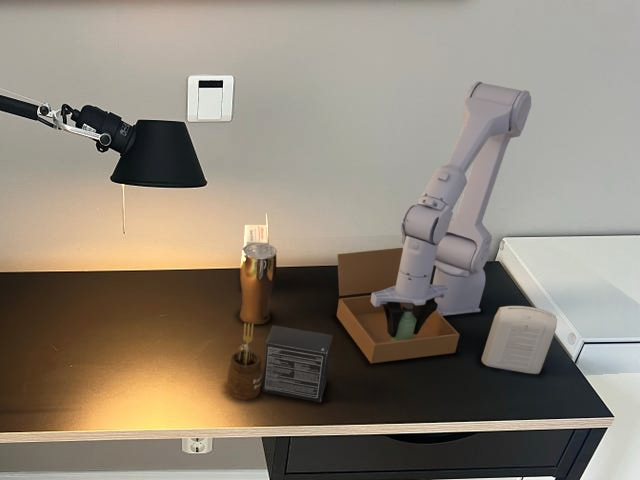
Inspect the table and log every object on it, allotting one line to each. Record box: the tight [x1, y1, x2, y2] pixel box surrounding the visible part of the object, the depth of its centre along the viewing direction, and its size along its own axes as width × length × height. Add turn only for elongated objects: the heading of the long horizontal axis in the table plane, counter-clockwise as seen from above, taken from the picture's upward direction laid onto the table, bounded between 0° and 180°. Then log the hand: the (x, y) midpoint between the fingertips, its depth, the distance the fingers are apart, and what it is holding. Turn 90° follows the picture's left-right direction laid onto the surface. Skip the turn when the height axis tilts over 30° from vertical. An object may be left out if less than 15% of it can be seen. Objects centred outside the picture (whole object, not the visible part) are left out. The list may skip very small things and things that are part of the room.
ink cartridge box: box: [243, 212, 270, 248], centre depth 160 cm, size 9×5×15 cm, turn 177°
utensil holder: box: [226, 322, 263, 401], centre depth 130 cm, size 6×6×12 cm
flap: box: [337, 247, 403, 297], centre depth 150 cm, size 8×17×1 cm
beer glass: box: [239, 243, 278, 326], centre depth 148 cm, size 7×7×15 cm
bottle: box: [390, 303, 416, 342], centre depth 142 cm, size 4×4×8 cm
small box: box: [261, 325, 333, 403], centre depth 131 cm, size 11×6×10 cm, turn 71°
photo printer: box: [481, 305, 558, 375], centre depth 135 cm, size 10×4×12 cm, turn 72°
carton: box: [336, 294, 460, 364], centre depth 146 cm, size 17×17×4 cm
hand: (402, 333), depth 143 cm, fingers closed on bottle, 4 cm apart
